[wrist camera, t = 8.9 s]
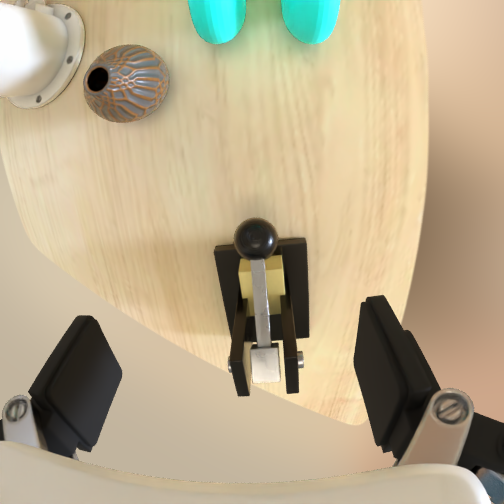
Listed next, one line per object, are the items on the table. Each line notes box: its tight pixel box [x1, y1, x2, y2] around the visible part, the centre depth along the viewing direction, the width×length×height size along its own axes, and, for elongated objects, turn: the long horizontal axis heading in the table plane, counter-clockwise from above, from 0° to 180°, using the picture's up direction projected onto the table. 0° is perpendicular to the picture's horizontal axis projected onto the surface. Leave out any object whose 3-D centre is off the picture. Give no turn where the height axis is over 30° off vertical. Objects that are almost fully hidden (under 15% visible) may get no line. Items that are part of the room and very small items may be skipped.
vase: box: [83, 45, 169, 123], centre depth 20 cm, size 7×7×9 cm
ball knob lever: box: [234, 218, 281, 383], centre depth 24 cm, size 13×4×4 cm
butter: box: [238, 255, 285, 316], centre depth 30 cm, size 5×4×3 cm
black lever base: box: [214, 238, 309, 396], centre depth 28 cm, size 12×9×12 cm
